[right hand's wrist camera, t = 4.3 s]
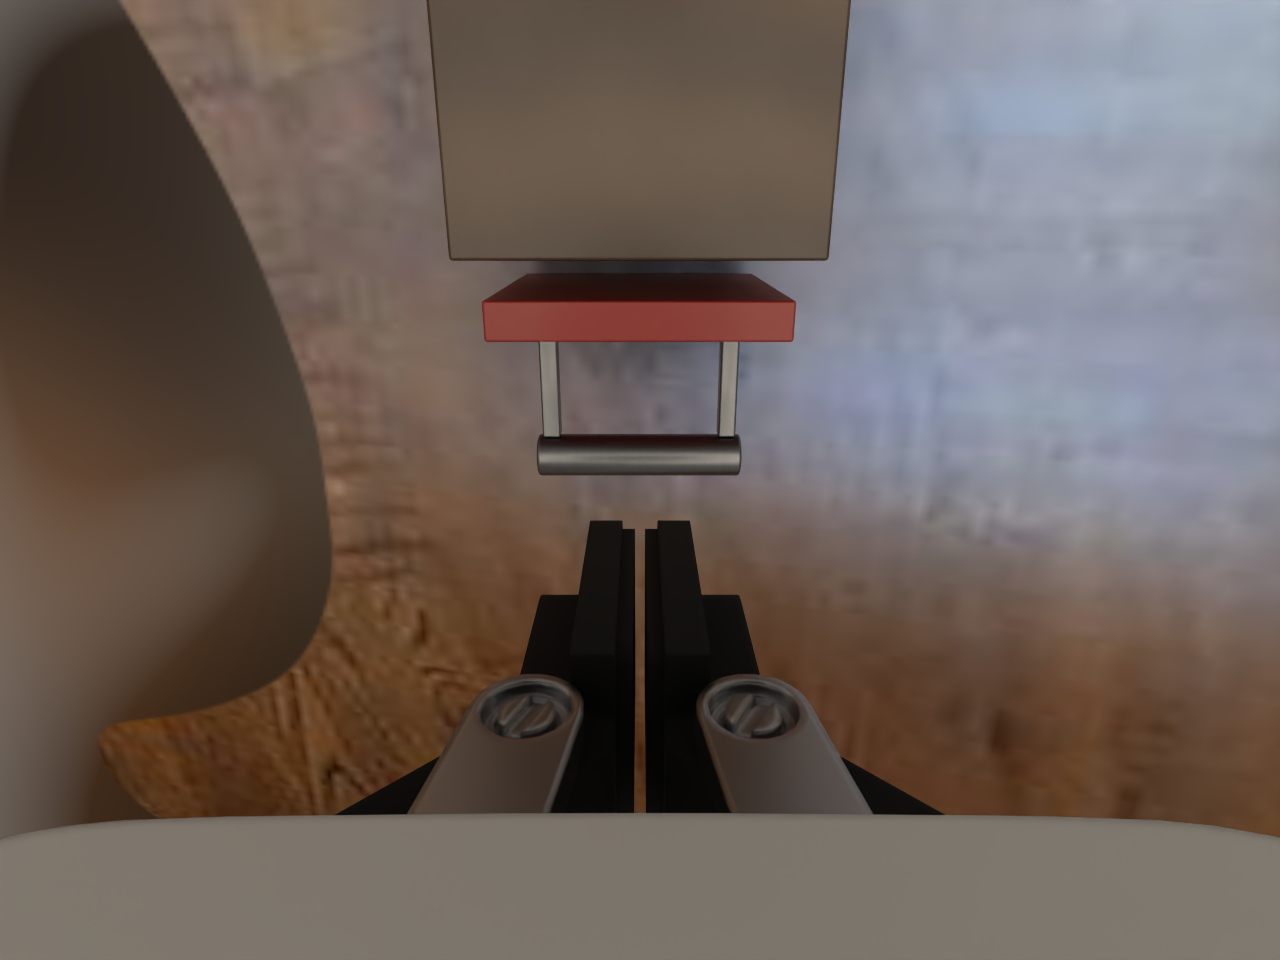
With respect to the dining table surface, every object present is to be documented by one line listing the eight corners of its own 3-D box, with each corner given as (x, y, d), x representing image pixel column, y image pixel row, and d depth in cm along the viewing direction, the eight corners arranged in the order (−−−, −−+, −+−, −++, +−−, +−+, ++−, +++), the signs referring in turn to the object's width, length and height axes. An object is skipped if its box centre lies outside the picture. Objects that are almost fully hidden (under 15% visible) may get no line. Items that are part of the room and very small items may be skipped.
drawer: (744, 425, 32) (781, 504, 24) (534, 425, 32) (496, 504, 24) (782, -295, 24) (860, -571, 15) (496, -295, 24) (416, -571, 15)
